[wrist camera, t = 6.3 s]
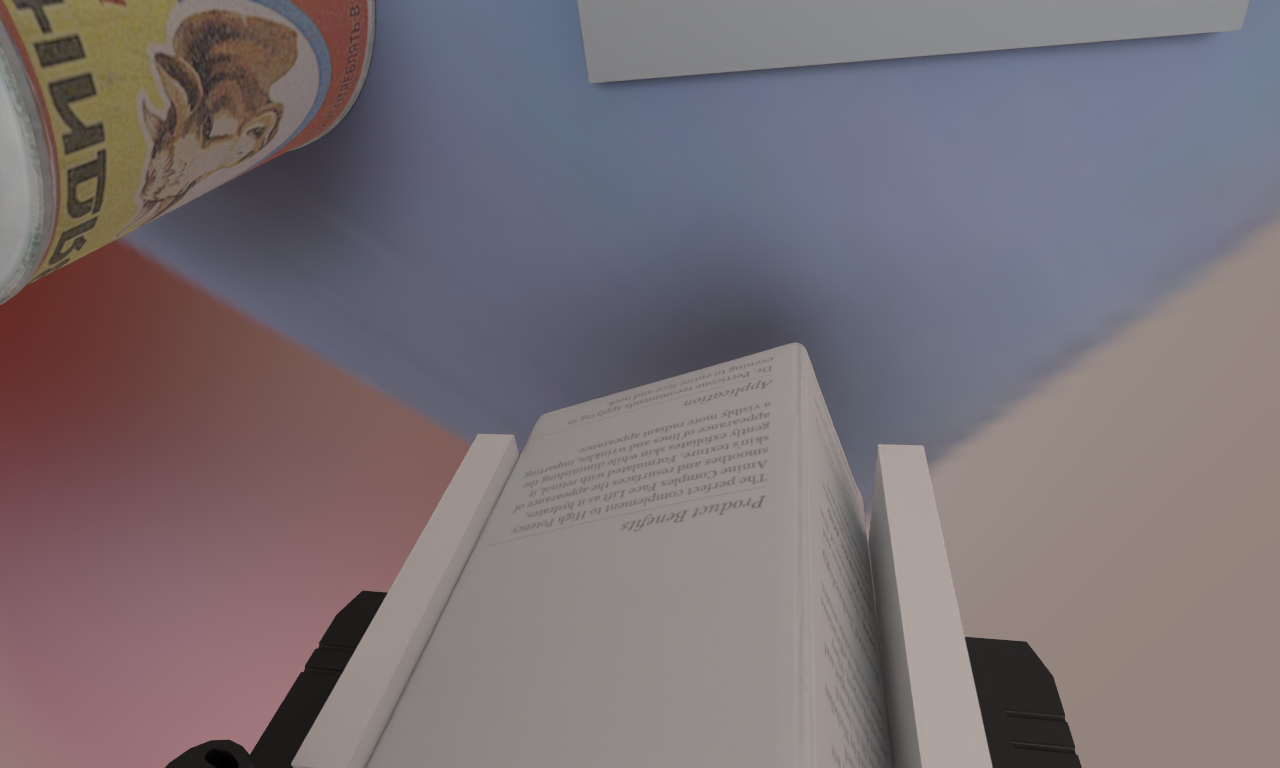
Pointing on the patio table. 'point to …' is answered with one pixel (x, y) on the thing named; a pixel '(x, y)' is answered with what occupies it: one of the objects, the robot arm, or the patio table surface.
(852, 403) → the patio table surface
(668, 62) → the slate board
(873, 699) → the skincare box
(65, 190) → the canned food
